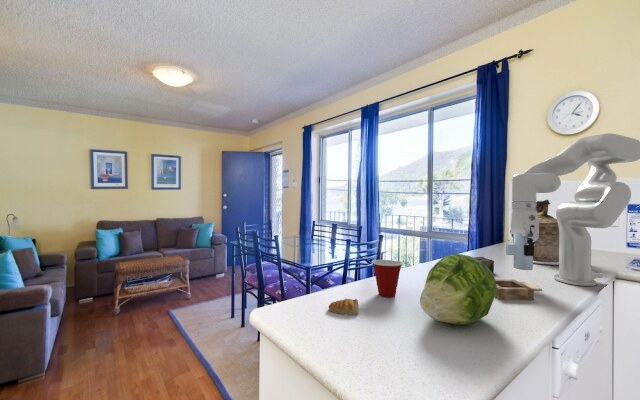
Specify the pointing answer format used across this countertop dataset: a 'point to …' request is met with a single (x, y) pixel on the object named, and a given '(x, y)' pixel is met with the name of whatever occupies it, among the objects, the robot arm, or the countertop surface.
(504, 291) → the cradle
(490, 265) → the beverage carton
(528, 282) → the mat
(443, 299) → the lettuce
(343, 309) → the pastry
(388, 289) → the plastic cup
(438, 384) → the countertop surface
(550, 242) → the cookie jar
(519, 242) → the pale blue pipe tee
